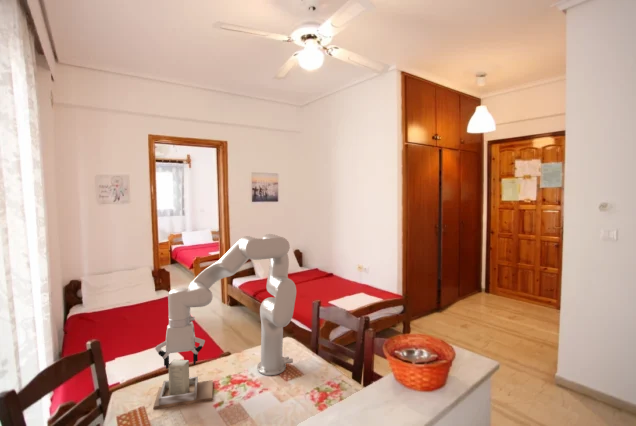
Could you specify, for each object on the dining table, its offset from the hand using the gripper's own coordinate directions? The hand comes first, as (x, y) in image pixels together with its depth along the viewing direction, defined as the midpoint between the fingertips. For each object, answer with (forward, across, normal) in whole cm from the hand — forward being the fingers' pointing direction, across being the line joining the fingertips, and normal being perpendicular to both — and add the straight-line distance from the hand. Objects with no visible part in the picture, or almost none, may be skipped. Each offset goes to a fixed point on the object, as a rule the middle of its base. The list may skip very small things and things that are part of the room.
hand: (181, 365), depth 125 cm
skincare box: (+11, +1, 0) cm, 11 cm away
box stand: (+12, -1, 0) cm, 12 cm away
